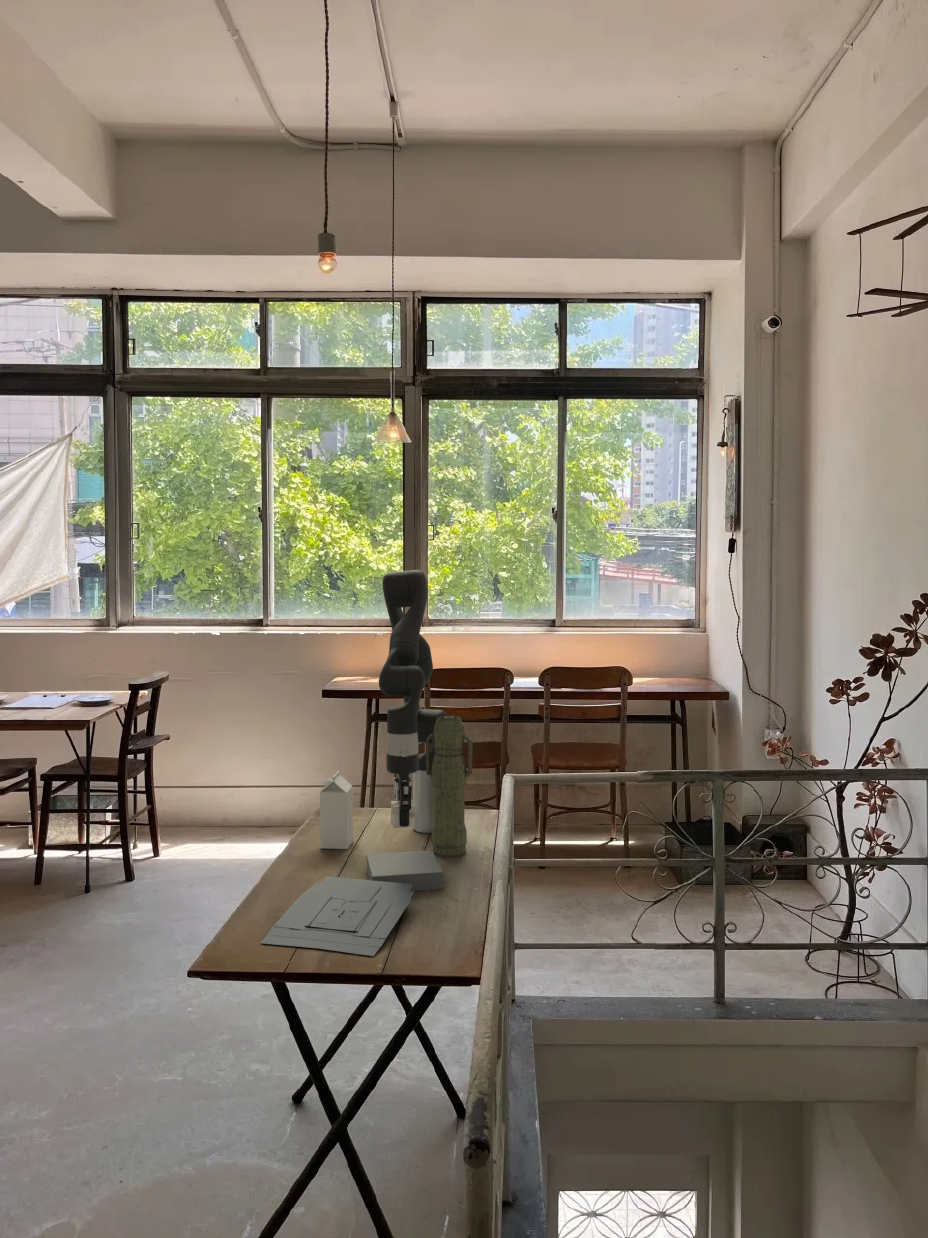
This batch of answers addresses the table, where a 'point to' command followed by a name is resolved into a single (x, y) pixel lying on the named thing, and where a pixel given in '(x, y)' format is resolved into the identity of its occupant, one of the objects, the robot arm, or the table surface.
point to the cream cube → (396, 814)
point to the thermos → (449, 785)
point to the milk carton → (336, 813)
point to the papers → (342, 915)
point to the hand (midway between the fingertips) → (402, 822)
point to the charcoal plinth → (406, 869)
